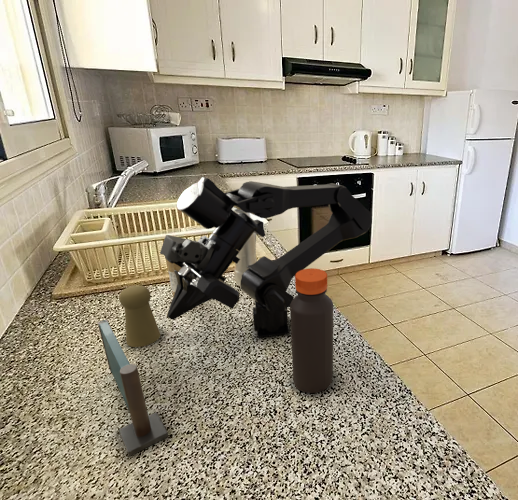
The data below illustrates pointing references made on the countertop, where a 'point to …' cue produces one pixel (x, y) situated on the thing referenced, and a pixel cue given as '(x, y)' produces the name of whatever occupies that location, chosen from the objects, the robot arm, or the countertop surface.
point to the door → (113, 354)
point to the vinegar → (312, 332)
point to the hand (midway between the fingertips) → (169, 318)
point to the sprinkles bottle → (173, 275)
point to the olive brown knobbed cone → (139, 316)
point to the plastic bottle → (245, 255)
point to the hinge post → (139, 415)
